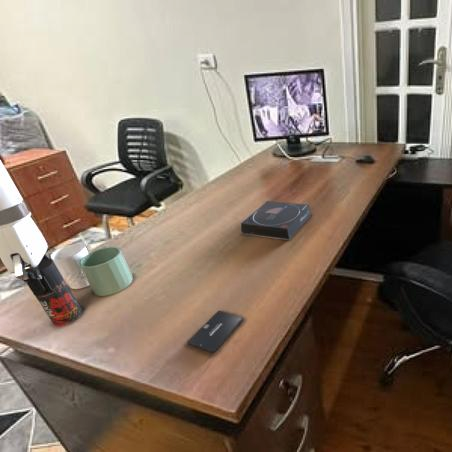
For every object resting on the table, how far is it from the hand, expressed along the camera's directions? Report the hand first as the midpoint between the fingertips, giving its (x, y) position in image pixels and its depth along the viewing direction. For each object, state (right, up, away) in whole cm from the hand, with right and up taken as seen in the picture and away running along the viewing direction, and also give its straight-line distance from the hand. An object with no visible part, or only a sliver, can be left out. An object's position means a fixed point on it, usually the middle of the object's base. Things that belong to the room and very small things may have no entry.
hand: (48, 284), depth 79 cm
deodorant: (+1, -9, +5) cm, 10 cm away
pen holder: (+5, -2, +15) cm, 16 cm away
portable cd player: (+46, +14, +37) cm, 60 cm away
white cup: (-4, -2, +17) cm, 18 cm away
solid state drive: (+39, -10, -4) cm, 41 cm away
